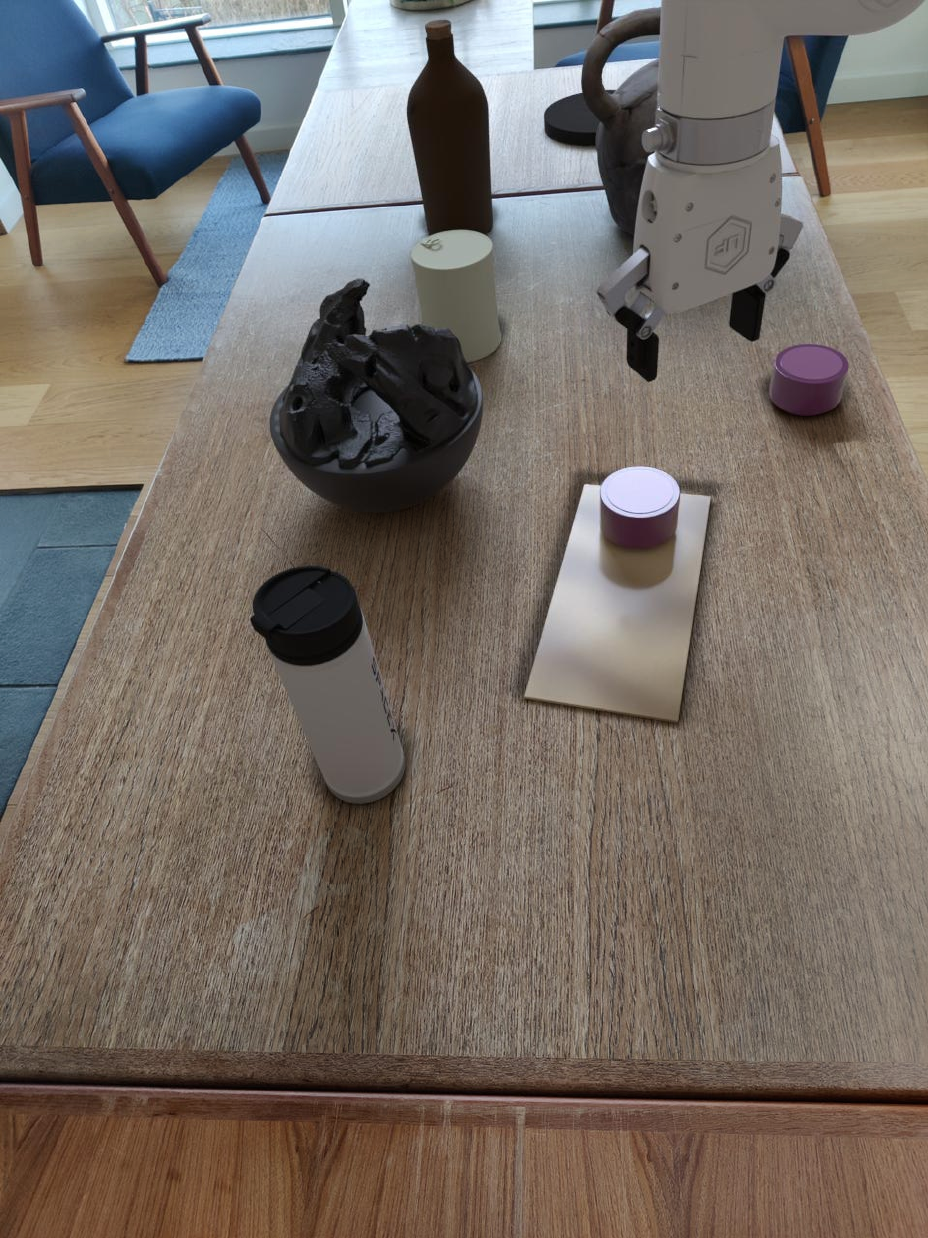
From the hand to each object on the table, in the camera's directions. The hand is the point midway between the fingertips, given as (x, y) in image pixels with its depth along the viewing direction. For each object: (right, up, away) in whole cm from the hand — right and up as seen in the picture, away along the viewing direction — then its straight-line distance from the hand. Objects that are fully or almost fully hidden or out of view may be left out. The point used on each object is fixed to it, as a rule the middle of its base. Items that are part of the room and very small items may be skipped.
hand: (693, 353), depth 72 cm
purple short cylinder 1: (-3, -13, +10) cm, 17 cm away
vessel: (+8, +32, +49) cm, 59 cm away
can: (-19, +11, +34) cm, 41 cm away
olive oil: (-19, +34, +54) cm, 67 cm away
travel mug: (-26, -33, -4) cm, 43 cm away
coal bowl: (-26, -8, +18) cm, 32 cm away
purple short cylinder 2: (+16, +1, +20) cm, 26 cm away
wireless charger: (+4, +59, +73) cm, 94 cm away
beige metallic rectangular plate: (-5, -19, +5) cm, 20 cm away
